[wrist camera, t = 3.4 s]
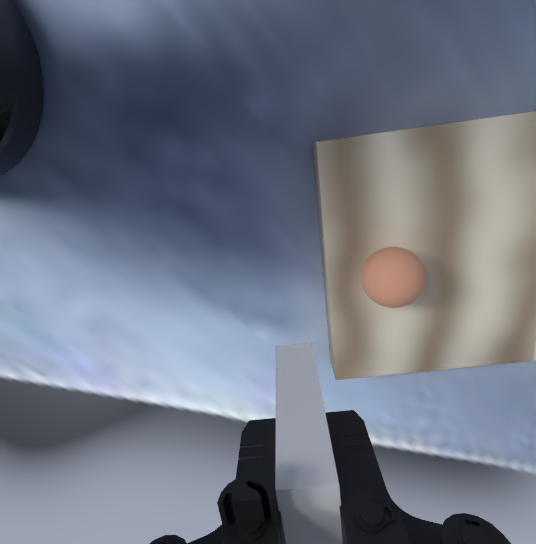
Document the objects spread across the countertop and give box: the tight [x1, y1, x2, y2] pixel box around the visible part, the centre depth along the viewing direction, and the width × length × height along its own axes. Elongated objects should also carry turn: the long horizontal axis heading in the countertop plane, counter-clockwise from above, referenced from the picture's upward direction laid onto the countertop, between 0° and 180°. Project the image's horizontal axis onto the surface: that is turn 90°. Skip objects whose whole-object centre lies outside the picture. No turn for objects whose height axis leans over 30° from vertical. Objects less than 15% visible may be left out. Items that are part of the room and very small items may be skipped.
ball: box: [361, 247, 426, 308], centre depth 22 cm, size 4×4×4 cm
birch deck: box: [312, 111, 536, 380], centre depth 25 cm, size 24×18×2 cm
